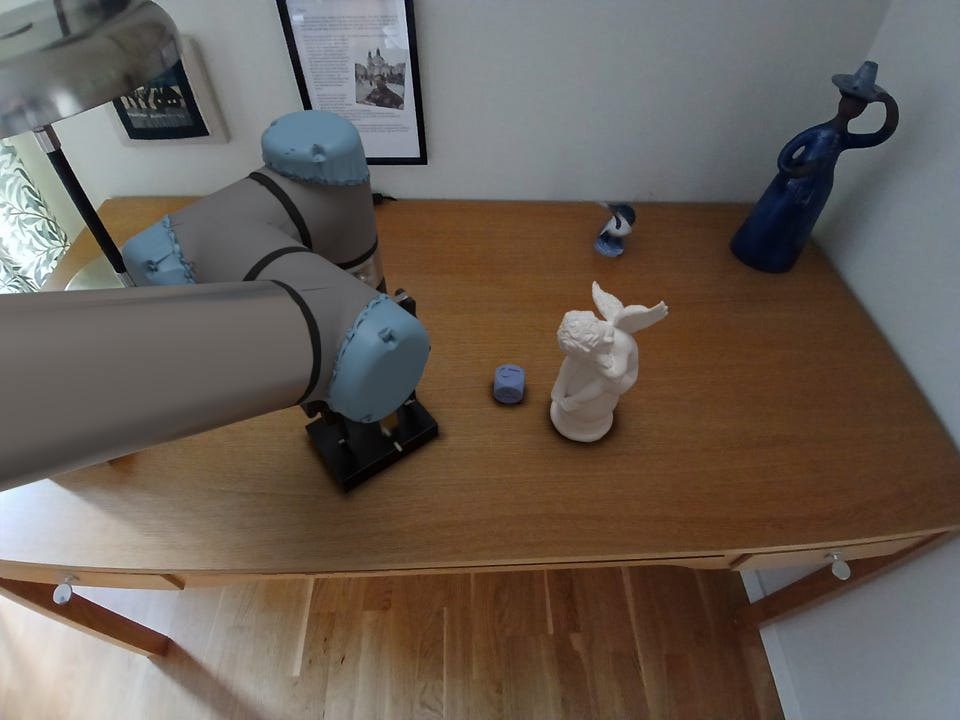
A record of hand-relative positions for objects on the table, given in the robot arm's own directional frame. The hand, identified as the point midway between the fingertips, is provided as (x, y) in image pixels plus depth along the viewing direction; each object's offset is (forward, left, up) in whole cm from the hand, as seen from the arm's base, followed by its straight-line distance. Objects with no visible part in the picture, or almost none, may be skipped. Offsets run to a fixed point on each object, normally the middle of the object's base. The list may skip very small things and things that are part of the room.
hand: (376, 412), depth 71 cm
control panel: (-1, 0, -5) cm, 5 cm away
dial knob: (0, 0, -2) cm, 2 cm away
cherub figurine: (+25, -13, -5) cm, 29 cm away
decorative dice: (+18, -5, -5) cm, 19 cm away
